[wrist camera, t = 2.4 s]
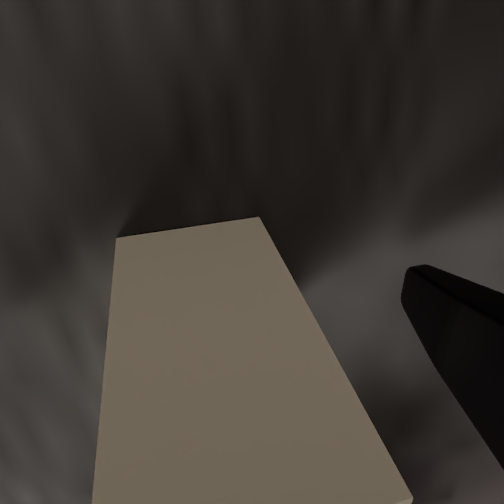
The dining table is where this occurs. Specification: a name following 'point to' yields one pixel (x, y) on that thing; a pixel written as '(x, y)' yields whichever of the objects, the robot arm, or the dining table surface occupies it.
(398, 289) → the dining table surface
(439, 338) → the robot arm
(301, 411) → the cream and brown mallet
